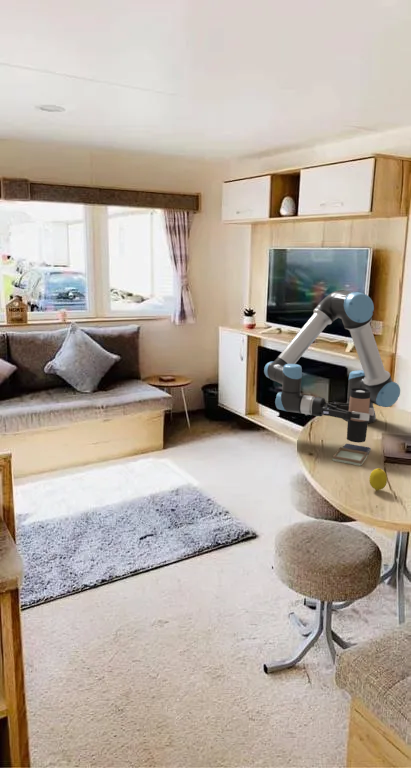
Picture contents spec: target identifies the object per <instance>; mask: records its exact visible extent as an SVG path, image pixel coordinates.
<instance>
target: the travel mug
mask: <svg viewBox="0 0 411 768" xmlns="http://www.w3.org/2000/svg"><path fill="white" fill-rule="evenodd" d="M370 393H371V392H370V391H369V390H368V389H364V388H352V389H351V391H350V401H349V411H350V412H351V413H352V411H355V412H362V413H368V414H369V404H370ZM368 424H369V423H368V421H365V420H359V419H352V418H351V420H348V421H347V426H346V427H347V430H346V433H347V434H346V439H347V441H350V442H353V443H364V442H366V441H367V440H366V438H367V432H368Z"/></svg>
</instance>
